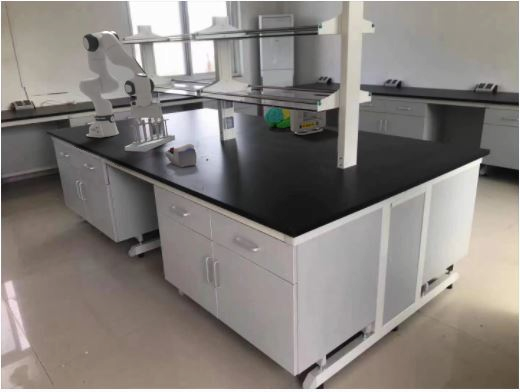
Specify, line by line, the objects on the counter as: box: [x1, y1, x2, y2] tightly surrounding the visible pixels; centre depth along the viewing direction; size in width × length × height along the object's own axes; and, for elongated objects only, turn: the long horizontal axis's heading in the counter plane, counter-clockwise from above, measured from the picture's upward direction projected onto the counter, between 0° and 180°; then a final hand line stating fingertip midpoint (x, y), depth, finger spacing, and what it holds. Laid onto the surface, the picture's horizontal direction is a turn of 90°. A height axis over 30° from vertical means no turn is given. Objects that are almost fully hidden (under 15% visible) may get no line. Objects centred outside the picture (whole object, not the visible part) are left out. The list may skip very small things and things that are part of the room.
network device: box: [290, 110, 327, 136], centre depth 270 cm, size 26×9×20 cm, turn 122°
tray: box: [124, 133, 176, 153], centre depth 263 cm, size 14×33×2 cm, turn 160°
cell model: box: [164, 143, 197, 168], centre depth 216 cm, size 13×11×20 cm
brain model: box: [264, 107, 291, 129], centre depth 291 cm, size 24×19×15 cm
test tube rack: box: [129, 116, 172, 145], centre depth 261 cm, size 25×4×13 cm, turn 136°
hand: (148, 124), depth 259 cm, fingers open, 8 cm apart
